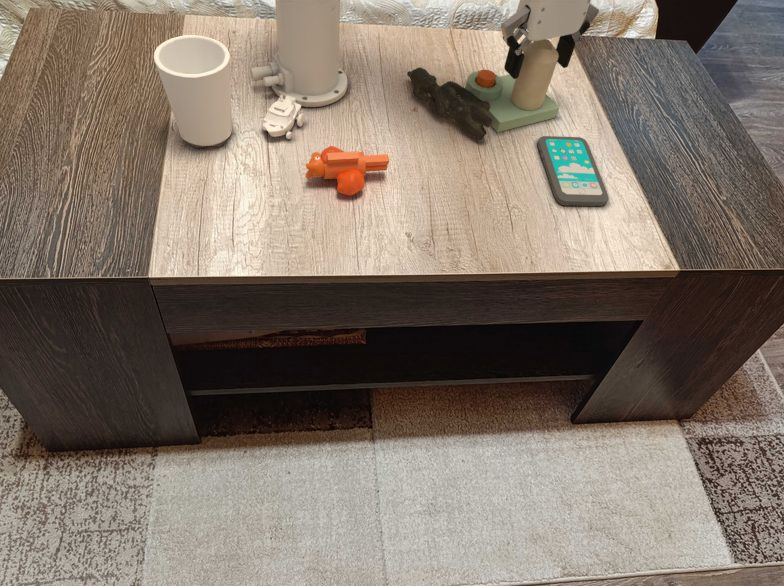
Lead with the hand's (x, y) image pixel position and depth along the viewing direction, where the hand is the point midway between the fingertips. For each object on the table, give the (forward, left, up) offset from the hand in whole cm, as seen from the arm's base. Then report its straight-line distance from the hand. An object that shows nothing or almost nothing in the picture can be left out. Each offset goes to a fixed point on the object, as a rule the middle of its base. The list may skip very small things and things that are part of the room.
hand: (535, 68), depth 98 cm
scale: (-1, +2, -8) cm, 8 cm away
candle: (0, 0, -6) cm, 6 cm away
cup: (-51, +11, -8) cm, 53 cm away
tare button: (-5, +5, -5) cm, 9 cm away
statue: (-15, +3, -4) cm, 16 cm away
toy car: (-40, +9, -8) cm, 41 cm away
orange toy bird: (-35, -6, -8) cm, 37 cm away
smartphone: (-1, -16, -8) cm, 18 cm away
